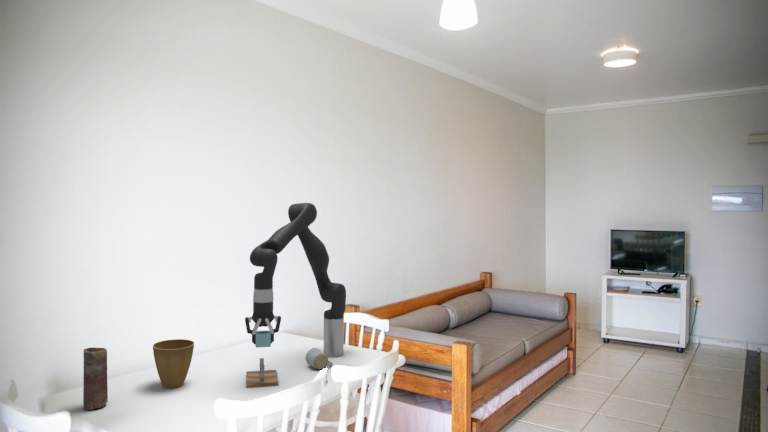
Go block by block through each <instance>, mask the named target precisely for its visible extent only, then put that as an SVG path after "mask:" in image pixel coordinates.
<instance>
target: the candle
mask: <svg viewBox="0 0 768 432" xmlns="http://www.w3.org/2000/svg"><path fill="white" fill-rule="evenodd" d="M108 389H109V388H108V349H107V348H105V347H88V348H84V349H83V399H82V400H83V410H84V409H87V410H88V411H91V410H94V409H101V408H103V407H104V406H105V405H106V404H108V401H109V399H108V395H109V393H108V392H109V391H108Z"/></svg>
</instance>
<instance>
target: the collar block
mask: <svg viewBox="0 0 768 432" xmlns="http://www.w3.org/2000/svg"><path fill="white" fill-rule="evenodd" d="M255 334H256V344H254V345H255V348H270V347H272V346H271V345H272V343H271V332H270V330H269V329H268V330H257V331H256V333H255Z"/></svg>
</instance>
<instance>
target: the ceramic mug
mask: <svg viewBox="0 0 768 432" xmlns="http://www.w3.org/2000/svg"><path fill="white" fill-rule="evenodd" d="M305 361H306V363H307V365H309V366H310V367H312V368H313V369H315V370H318V371H319V370H323V368H324V369H325V368H327V366H328V367H332V366H333V362H332V361H330V360H329V357H328V356H327V355H326V354H325V353H324V351H322V350H321V349H319V348H318V347H314V348H311V349H309V350H308V351H307V352H306V354H305Z"/></svg>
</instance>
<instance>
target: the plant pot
mask: <svg viewBox="0 0 768 432" xmlns="http://www.w3.org/2000/svg"><path fill="white" fill-rule="evenodd" d="M194 347H195V341H193V340H191V339H190V340H189V339H182V338H178V339H177V338H176V339H167V340H165V339H164V340H162V341H161V340H160V341H158V342H155V343H153V344H152V351H153V358H154V363H155V367H156V368H155V369H156V371H157V374H158V377H159V379H160V383H161V385H162V387H163V388H165V387H166V389H176V388H175V387H177V388H180V387H183V385H185V384H184V383H185V381H186V378H187V375H188V374H189V369H190V366H191V364H192V359H193V353H194ZM179 386H180V387H179Z"/></svg>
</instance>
